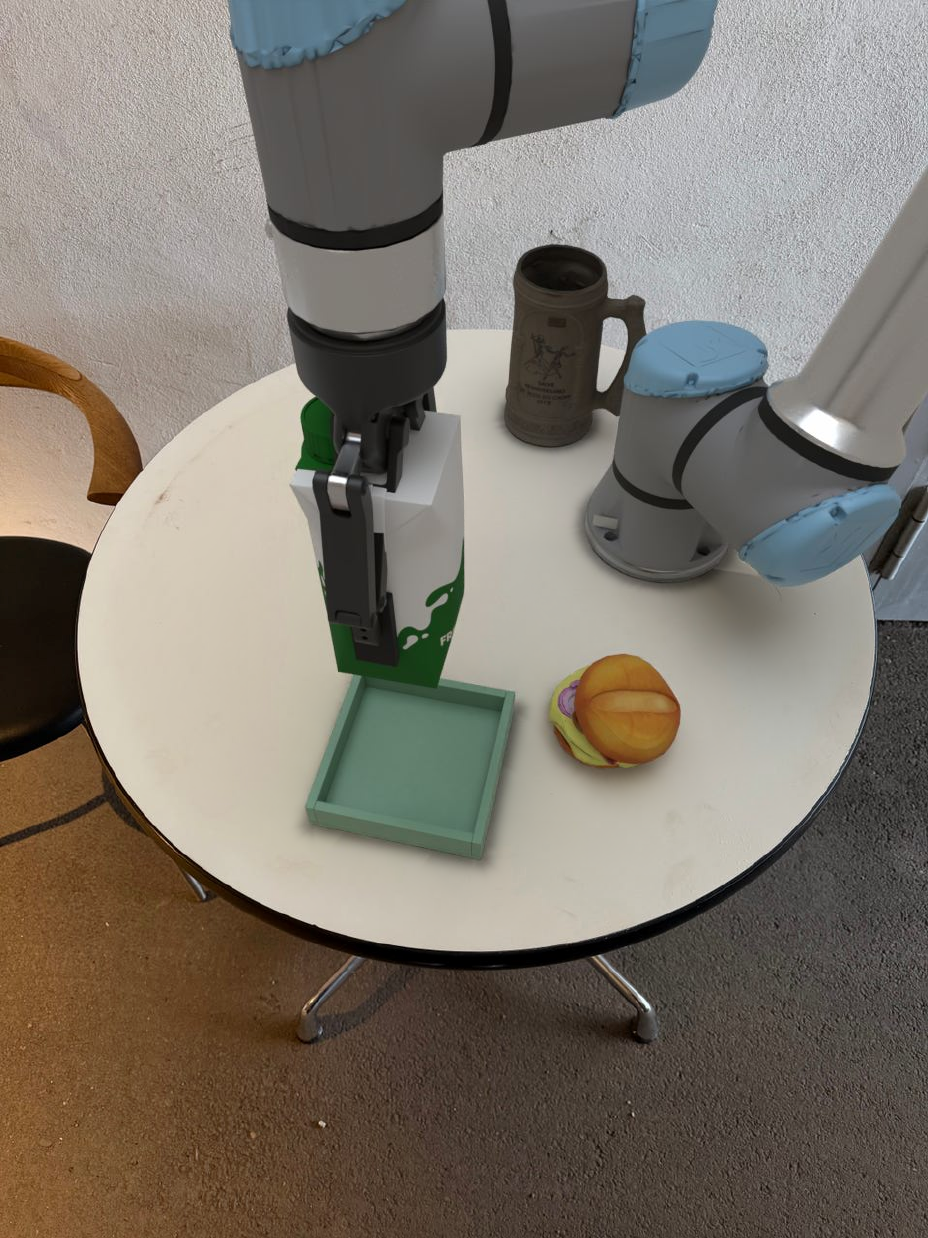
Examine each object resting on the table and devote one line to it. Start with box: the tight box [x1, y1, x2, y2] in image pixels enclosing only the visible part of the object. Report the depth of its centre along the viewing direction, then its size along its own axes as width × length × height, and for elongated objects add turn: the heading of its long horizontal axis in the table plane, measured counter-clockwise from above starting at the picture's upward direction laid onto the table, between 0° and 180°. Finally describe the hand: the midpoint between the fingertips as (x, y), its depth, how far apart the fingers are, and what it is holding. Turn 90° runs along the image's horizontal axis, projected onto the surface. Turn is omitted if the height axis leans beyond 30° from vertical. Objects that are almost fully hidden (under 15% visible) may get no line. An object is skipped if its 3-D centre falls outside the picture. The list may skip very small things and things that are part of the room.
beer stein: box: [503, 243, 647, 447], centre depth 96 cm, size 15×11×20 cm
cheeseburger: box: [548, 653, 682, 770], centre depth 74 cm, size 10×11×10 cm
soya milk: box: [289, 395, 465, 689], centre depth 53 cm, size 9×9×20 cm
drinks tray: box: [304, 674, 516, 860], centre depth 74 cm, size 15×15×3 cm
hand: (397, 603), depth 58 cm, fingers closed on soya milk, 9 cm apart
